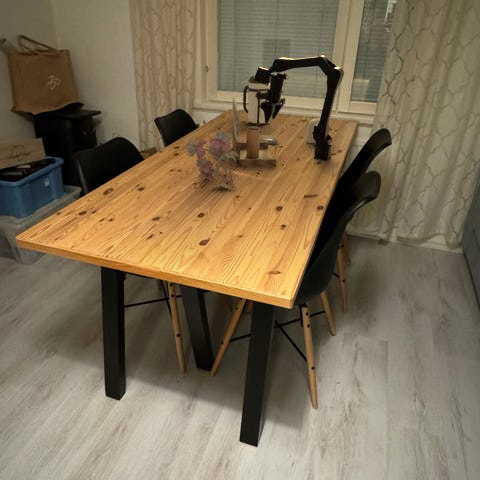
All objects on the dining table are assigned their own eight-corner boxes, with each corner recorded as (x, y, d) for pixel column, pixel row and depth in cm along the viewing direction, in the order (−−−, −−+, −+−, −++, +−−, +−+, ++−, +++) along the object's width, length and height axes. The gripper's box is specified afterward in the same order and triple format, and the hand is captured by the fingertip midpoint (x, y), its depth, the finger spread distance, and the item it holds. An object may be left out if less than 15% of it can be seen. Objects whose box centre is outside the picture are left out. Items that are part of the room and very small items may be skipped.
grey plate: (281, 141, 211) (281, 137, 210) (271, 147, 202) (271, 143, 201) (261, 137, 217) (262, 134, 216) (250, 143, 208) (250, 139, 207)
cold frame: (267, 149, 199) (270, 97, 187) (276, 168, 176) (279, 110, 163) (232, 149, 198) (232, 97, 185) (236, 169, 174) (236, 110, 162)
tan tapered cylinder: (261, 155, 187) (262, 127, 180) (255, 159, 183) (256, 130, 176) (250, 153, 190) (251, 125, 183) (243, 157, 185) (244, 128, 179)
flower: (251, 171, 168) (225, 115, 158) (255, 186, 148) (225, 124, 138) (209, 191, 171) (180, 138, 161) (206, 209, 151) (174, 149, 141)
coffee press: (270, 120, 249) (273, 69, 234) (269, 127, 236) (272, 72, 220) (242, 119, 251) (243, 68, 236) (240, 126, 237) (241, 72, 222)
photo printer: (324, 140, 213) (327, 117, 207) (327, 143, 210) (330, 119, 203) (305, 141, 212) (308, 117, 206) (308, 143, 208) (310, 119, 202)
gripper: (267, 80, 193) (261, 112, 201) (252, 86, 178) (246, 120, 187) (288, 85, 190) (282, 118, 198) (275, 92, 175) (268, 127, 183)
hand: (269, 120), depth 192 cm, fingers open, 9 cm apart
